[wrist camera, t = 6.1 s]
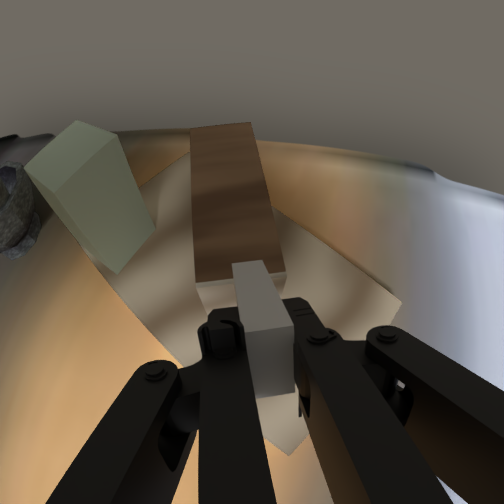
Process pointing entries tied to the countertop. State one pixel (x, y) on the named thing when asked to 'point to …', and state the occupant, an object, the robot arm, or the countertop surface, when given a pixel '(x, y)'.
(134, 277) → the maple board
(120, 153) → the sage-green block
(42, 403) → the countertop surface
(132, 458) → the robot arm
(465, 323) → the countertop surface
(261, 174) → the walnut block
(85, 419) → the countertop surface
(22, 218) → the mortar and pestle
